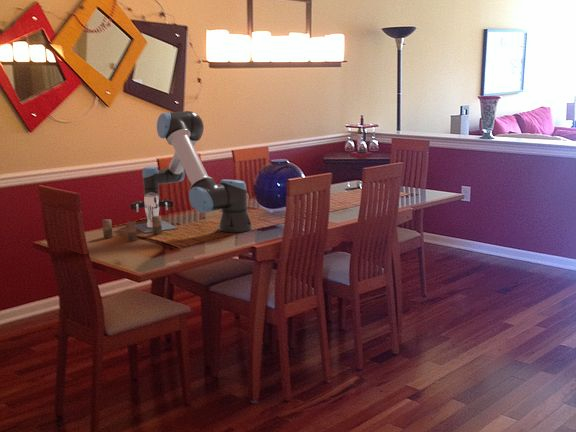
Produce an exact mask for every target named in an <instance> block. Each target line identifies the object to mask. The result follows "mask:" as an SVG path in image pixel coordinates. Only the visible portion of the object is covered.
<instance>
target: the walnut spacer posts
mask: <svg viewBox="0 0 576 432" xmlns="http://www.w3.org/2000/svg"><path fill="white" fill-rule="evenodd" d="M161 221H162V216H161V215H159V216H153V217H152V224H153V232H152V235H153V234H154V236H159V234H160V235H162V234H163V231H162V226H161ZM112 222H113V221H112V219H110V218H109V219H108V218H106V219H105V218H104V219H102V234H103V239H112V238H113V237H114V236H113V235H114V234H113V225H112V224H113V223H112ZM136 224H137V221H127V222H126V233H127V241H128V242H134V241H135V242H137V240H138V234H137V233H138V232H137V230H138V229H137V228H136Z"/></svg>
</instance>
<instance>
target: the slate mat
mask: <svg viewBox="0 0 576 432" xmlns="http://www.w3.org/2000/svg"><path fill="white" fill-rule="evenodd" d="M161 226H162V232H165V230H167V231H172V230H173V229H174V230H178V229H179V227H178V226H175V225H173V224H171V223H169V222H167V221H166V220H161ZM136 230H139V232H142V233H144V234H150V233H152V234H153V228H147V222H142V223H136Z"/></svg>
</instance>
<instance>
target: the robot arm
mask: <svg viewBox="0 0 576 432" xmlns="http://www.w3.org/2000/svg"><path fill="white" fill-rule="evenodd" d="M204 128H205V127H204V121H203V119H202V118H201V117H200V115H198V114H197V113H196V112H194V111H190V110H185V111H172V112H170V111H167V112H163V113H161V114H160V115H158V118H157V120H156V132H157V135H158V137H159V138H161V139H165V140H166V141H167V144H168V145H170V146H172V147H173V149H174V153H173V155H172V158H171V161H170V162H169V165H168V166H167V168H165V169H164V168H163V169H158V167H157V166H145V167H143V168H142V181H143V182H142V183H143V195H144V196H146V195H158V198H159V208H160V207H164V208H165V211H168V209H169V208H170V207H171V208H173V207H174V201H172V200H168V199H166V198H164V199H162V200H161V199H160V189H159V188H160V187H159V185H164V184H165V185H166V184H173V183H175V184H176V183H180V182H183V181H184V179H185V176H186V177H187V178H188V181H189V183H190V184H191V185H190V187H189V192H188V198H189V203H190V205H191V207H192V208H193V209H194V210H195V211H197V212H198V213H209V212H213V211H220V210H221V217H220V220H219V223H218V231H220V232H224V233H240V232H243V233H244V232H247V231H251V230H252V227H253V226H252V222H251V219H250V216H249V212H248V201H247V195H246V193H247V192H248V191H247V190H248V189H247V184H246V182H245V181H243V180H240V179H226V178H225V179H221V180H220V182H219V183H216V182H215V179H214V178H213V177H211V176H209V175H208V172H207V171H206V168H205V167H204V165H203V162H202V161H201V158H200V156H199V155H198V152H197V150H196V148H195V146H196V144H197V142H198V141H200V140H201V138H202V136H203V133H204ZM144 196H143V197H144ZM143 208H144V209H145V207H144V200H143V201H141V200H137V201H135V202H133V203H130V210H133V211H135V212H136V213H139V209H143Z"/></svg>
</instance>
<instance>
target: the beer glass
mask: <svg viewBox="0 0 576 432" xmlns="http://www.w3.org/2000/svg"><path fill="white" fill-rule="evenodd" d="M143 197H144V198H143V199H144V200H143V201H144V207H145V208H144V207H143V208H144V211H145V212H144V213H145V216H146V223H147V228H153V224H152V217H153V216H160V214H159V213H160V207H159V200H160V197H159V198H158V195H146V196H143Z"/></svg>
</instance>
